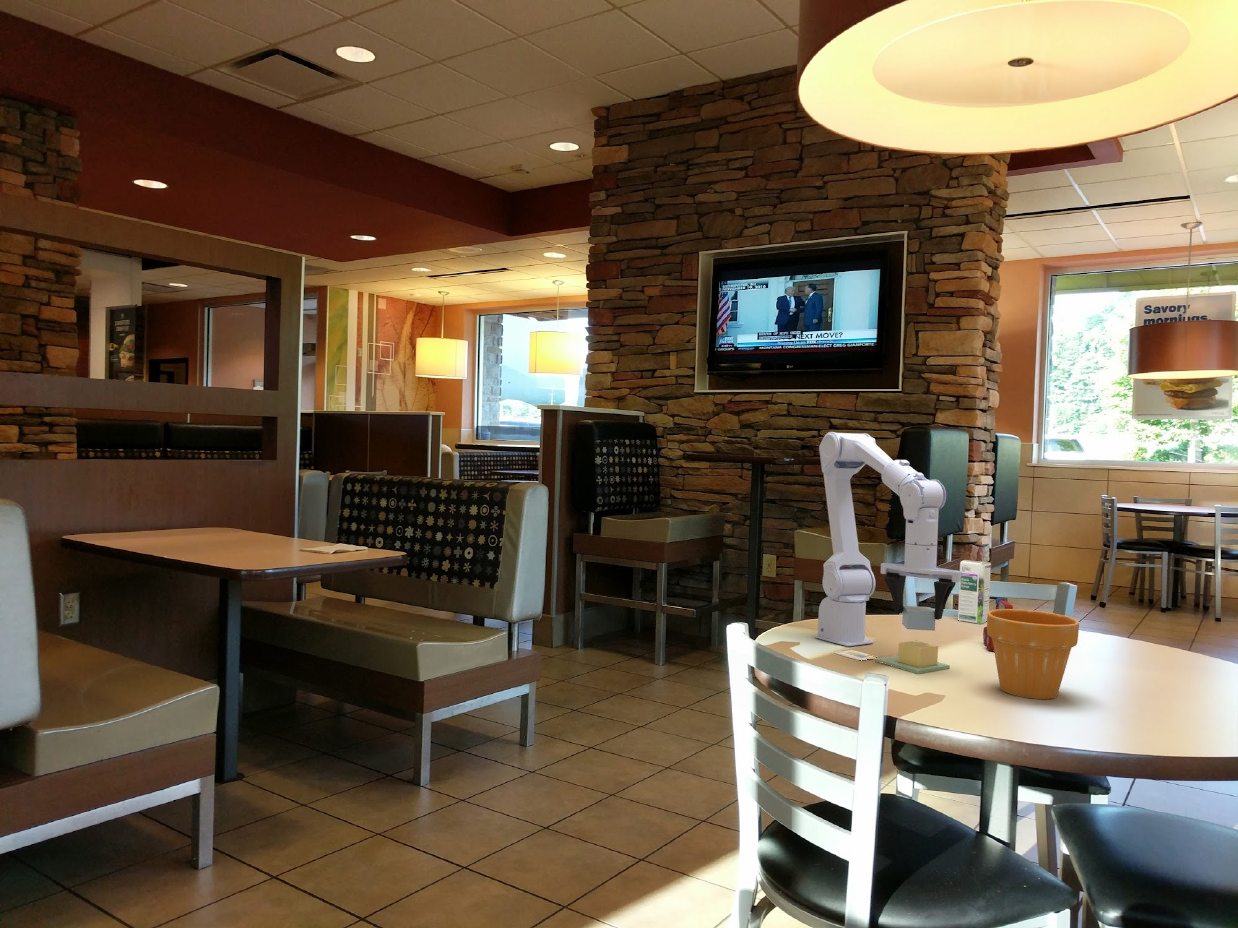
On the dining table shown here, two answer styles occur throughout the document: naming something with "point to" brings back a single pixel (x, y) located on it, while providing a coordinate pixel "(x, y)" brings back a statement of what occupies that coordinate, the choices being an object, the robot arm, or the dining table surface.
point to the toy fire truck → (986, 638)
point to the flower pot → (1031, 650)
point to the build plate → (894, 662)
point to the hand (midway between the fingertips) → (918, 615)
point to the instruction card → (854, 654)
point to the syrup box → (974, 591)
